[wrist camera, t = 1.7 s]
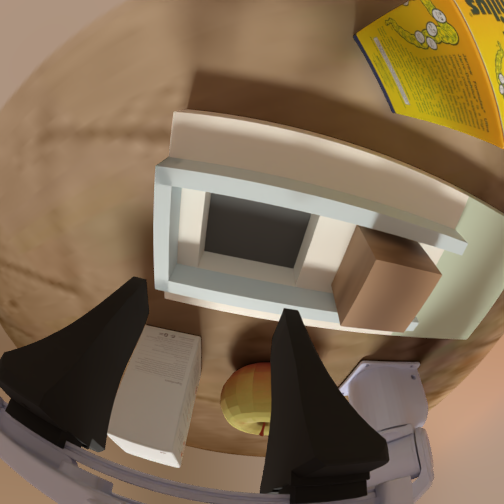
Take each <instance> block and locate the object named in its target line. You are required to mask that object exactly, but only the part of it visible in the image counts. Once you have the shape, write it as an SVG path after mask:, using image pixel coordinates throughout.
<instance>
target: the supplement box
mask: <svg viewBox="0 0 504 504" xmlns="http://www.w3.org/2000/svg"><path fill="white" fill-rule="evenodd" d="M353 38H354V40H355V42H356V43H357V44H358V46H359V48H360V49H361V51H362V53H363V54H364V56H365V58H366V60H367V62H368V64H369V65H370V67H371V69H372V71H373V73H374V75H375V77H376V79H377V81H378V83H379V85H380V87H381V89H382V91H383V93H384V95H385V98H386V100H387V102H388V103H389V106H390V108H391V111H392V112H393V113H397V114H401V115H405V116H410V117H414V118H418V119H421V120H425V121H429V122H432V123H436V124H439V125H442V126H446V127H449V128H451V129H454V130H457V131H460V132H463V133H466V134H468V135H471V136H474V137H476V138H479V139H481V140H484V141H486V142H488V143H491V144H493V145H496V146H498V147H500V148H502V149H504V0H409V1H407V2H406V3H404V4H402V5H400V6H399V7H397V8H395V9H393V10H392V11H390V12H388V13H387V14H385V15H383V16H382V17H380V18H379V19H377V20H375V21H374V22H372V23H371V24H369V25H368V26H366V27H365V28H363V29H362V30H360V31H359V32H357V33H356V34H355V35H354V36H353Z"/></svg>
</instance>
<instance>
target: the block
mask: <svg viewBox="0 0 504 504" xmlns="http://www.w3.org/2000/svg"><path fill="white" fill-rule="evenodd" d="M441 276H442V274H441V272H440V271H439V269H438V268H437V267H436V265H435V264H434V262H433V261H432V260H431V258H430V257H429V256H428V254H427V253H426V252H425V250H424V249H423V248H422V246H421V245H420V244H419V243H418V242H417V241H414V240H410V239H407V238H404V237H400V236H397V235H393V234H389V233H386V232H382V231H379V230H375V229H371V228H367V227H364V226H360V225H356V227H355V230H354V232H353V235H352V237H351V240H350V242H349V245H348V247H347V249H346V252H345V254H344V257H343V259H342V261H341V264H340V266H339V268H338V270H337V273H336V275H335V277H334V279H333V282H332V284H331V287H332V291H333V295H334V299H335V304H336V308H337V312H338V317H339V322H340V326H344V327H352V328H361V329H370V330H380V331H390V332H401V333H404V332H405V330H406V329H407V328H408V326H409V325H410V323H411V322H412V321H413V319H414V318H415V317H416V315H417V314H418V312H419V311H420V309H421V308H422V306H423V305H424V303H425V302H426V300H427V299H428V297H429V296H430V294H431V293H432V291H433V290H434V288H435V286H436V285H437V283H438V281H439V280H440V278H441Z"/></svg>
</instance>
